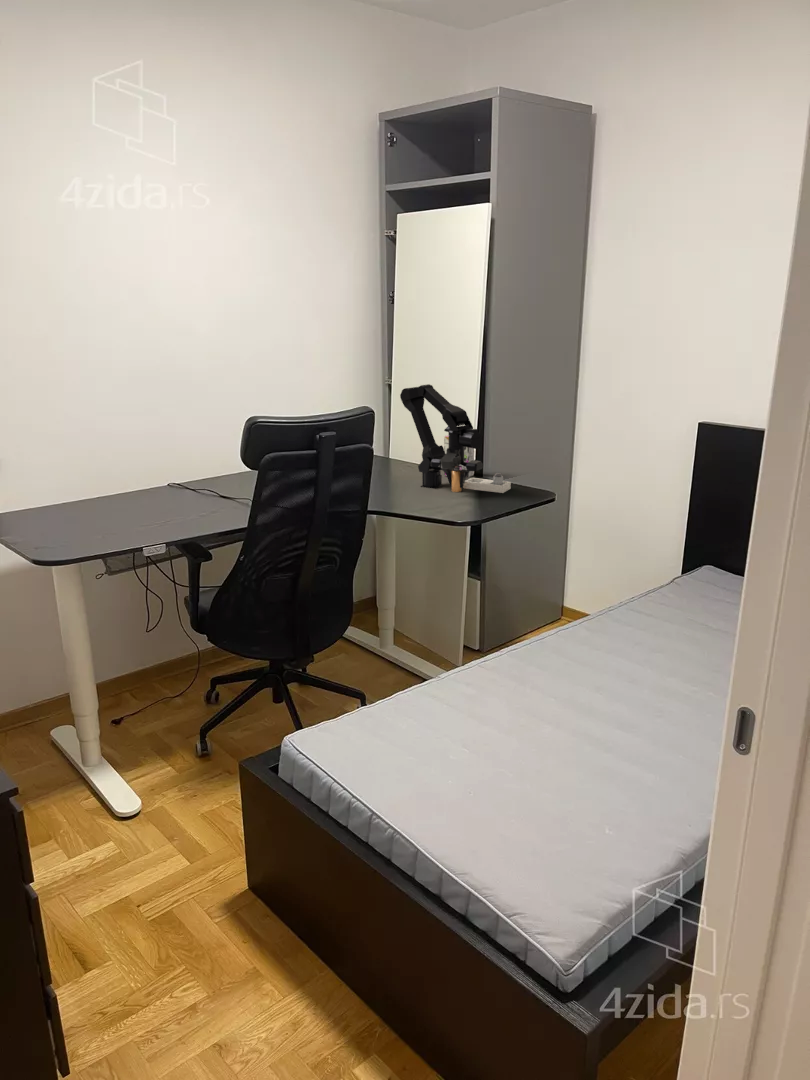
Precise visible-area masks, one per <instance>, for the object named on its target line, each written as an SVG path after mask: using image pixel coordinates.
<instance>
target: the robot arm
mask: <svg viewBox="0 0 810 1080" xmlns="http://www.w3.org/2000/svg"><path fill="white" fill-rule="evenodd" d="M399 395H400V401H401V403H402V405H403V406H404V408H405V409H406V410H407V411H409V412H410V414H411V416H412V419H413V422H414V426H415V428H416V431H417V434H418V437H419V440H420V442H421V445H422V453H421V458H422V461H421V462H420V463H419V464H418V465H417V468H418V472H419V473H422V474H421V475H422V478H421V479H422V484H421V485H420V488H427V489H437V488H440V487H442V486H443V483H442V481H443V480H442V478H443V477H442V474H441V471H443V472H445V473H446V475H447V476H446V477H447V480H448V482H449V486H450V487H451V488H452V470H453V469H454V467H455V466H457V467H462V470H460V471H459V472H460V488H461V489H463V485H464V482H465V481H466V480H467V478H468V477H467V475H468V474H469V472H470V471H474V472H478V471H480V470H482V469H483V467H484V464H483V462H482V460H475V459H474V460H472V461H470V462H464V461H466V458H464V450H466V447H469V448H474V450H477V449H480V447H481V445H482V443H483V438H482V435H481V433H479V429H478V428H474V427H473V424H472V422H471V420H470V418H469V416H468V413H467V411H466V410H465V409H463V408H461V407H460V406H457V405H454V404H452V403H451V402H449V400H447V399H446V397H444V396H443V395H441V393H439V392H438V391H437V390H436V389H435V388H434V386H433V384H430V383H429V384H420V386H413V387H407V388H406V387H405V388H403V389H402V390H401V393H400V394H399ZM425 401H427V402H428V403H429V404H430V405H431V406H432V407H434V408H435V409H436V410H437V411H438V412H439V413H440V414H441V415H442V420H443V422H444V423H445V424H446V425H447V427H445V428H444V432H446V433H448V435H449V448H447V452H446V454H445V452H444V446H443V445H438V443H436V440H435V438H434V435H433V432H432V429H431V427H430V423H429V421H428V417H427V415H426V412H425V409H424V405H425Z"/></svg>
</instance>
